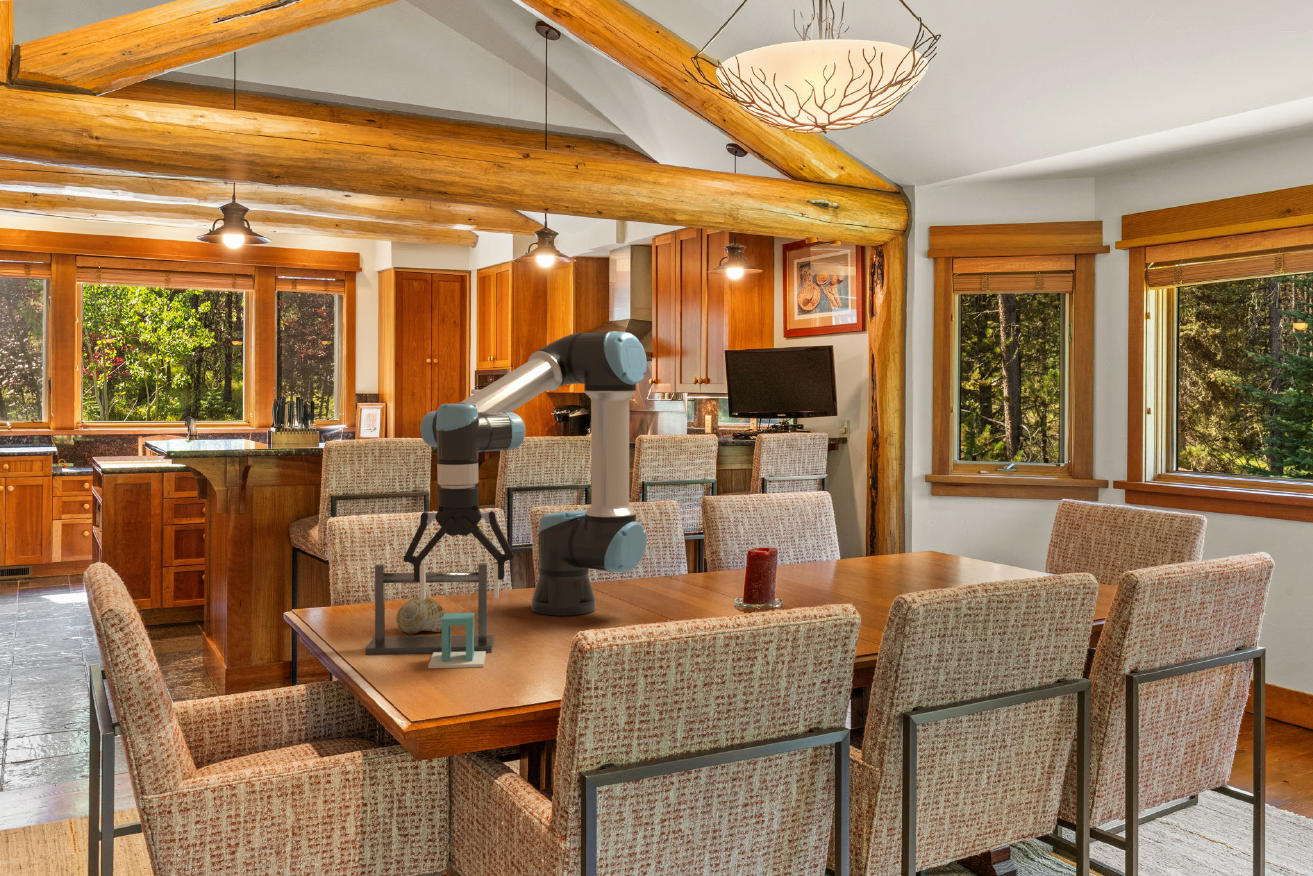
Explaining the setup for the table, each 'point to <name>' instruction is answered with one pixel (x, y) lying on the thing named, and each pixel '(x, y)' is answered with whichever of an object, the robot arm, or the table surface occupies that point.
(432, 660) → the mat
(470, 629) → the c link
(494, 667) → the table surface
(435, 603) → the seashell
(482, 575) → the stand
